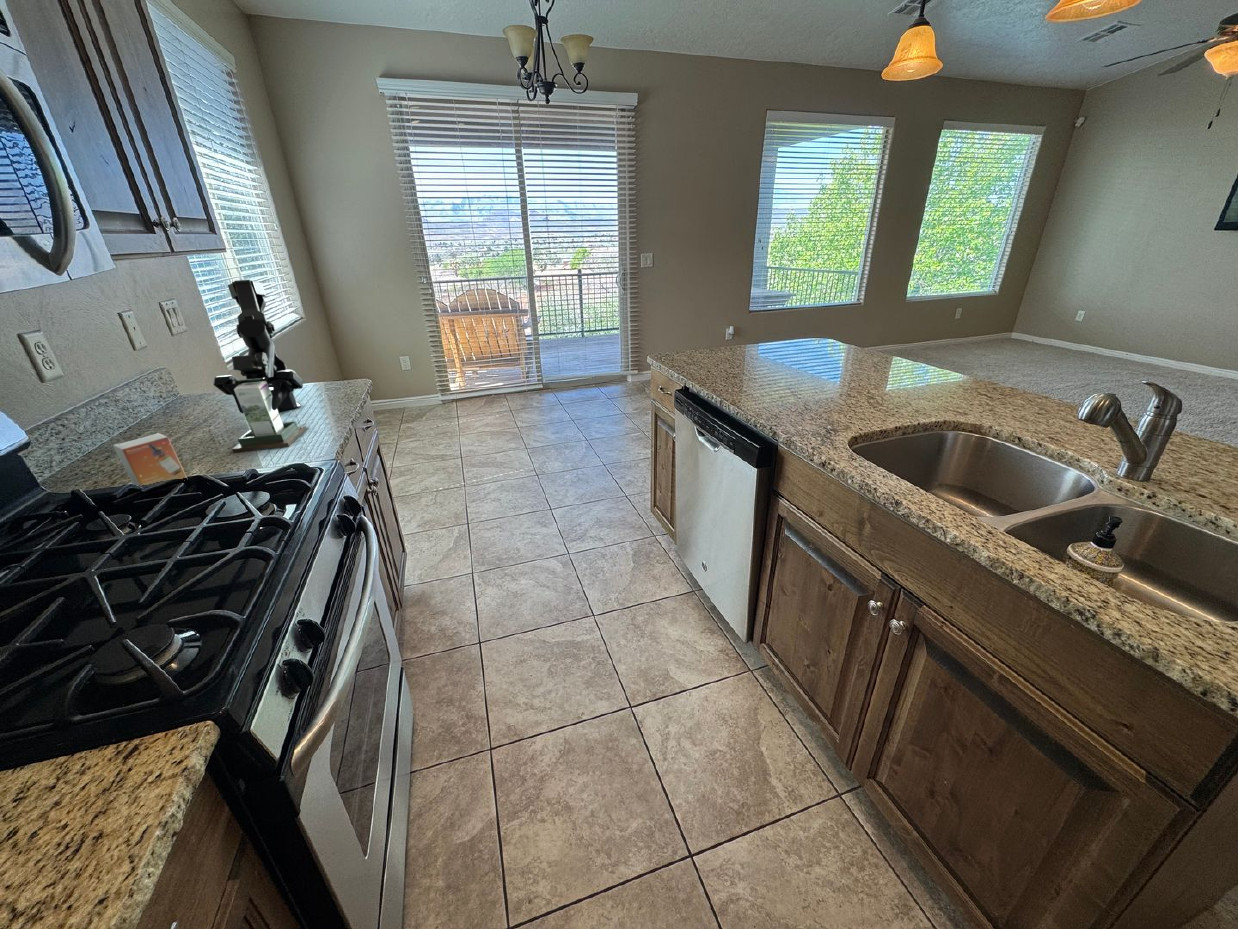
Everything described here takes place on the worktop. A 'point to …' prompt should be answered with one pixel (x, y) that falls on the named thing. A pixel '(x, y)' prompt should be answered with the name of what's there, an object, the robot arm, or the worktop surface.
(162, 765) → the worktop surface
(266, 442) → the pad
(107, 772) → the worktop surface
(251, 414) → the syrup box
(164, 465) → the small box
